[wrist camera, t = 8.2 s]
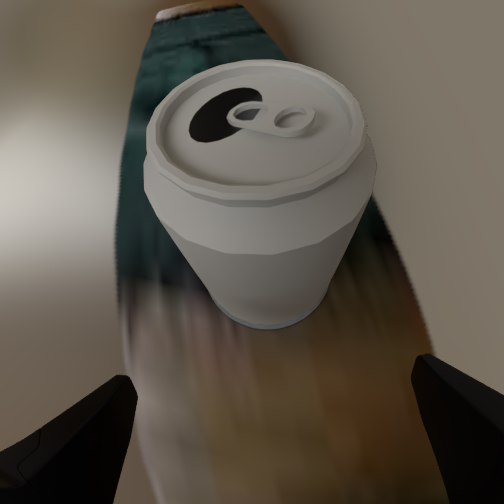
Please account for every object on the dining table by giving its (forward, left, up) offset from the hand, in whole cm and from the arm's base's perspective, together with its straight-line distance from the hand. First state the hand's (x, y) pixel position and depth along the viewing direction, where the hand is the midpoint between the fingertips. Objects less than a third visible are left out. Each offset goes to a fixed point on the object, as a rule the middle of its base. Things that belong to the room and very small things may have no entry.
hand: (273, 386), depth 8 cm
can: (+7, 0, -8) cm, 11 cm away
